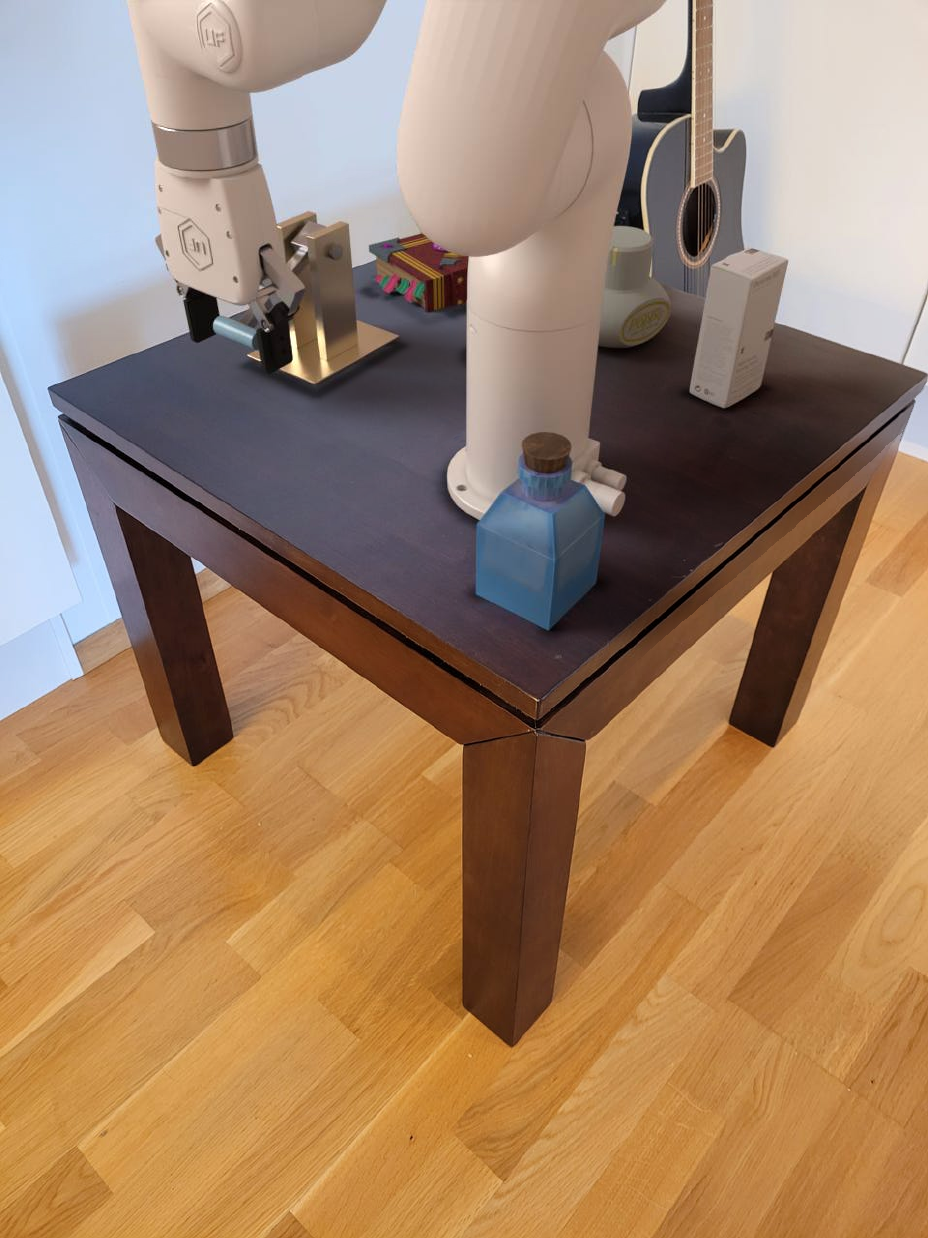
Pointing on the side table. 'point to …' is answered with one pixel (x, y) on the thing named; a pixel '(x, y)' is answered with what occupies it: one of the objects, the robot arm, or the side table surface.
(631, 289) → the air freshener
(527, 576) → the perfume bottle
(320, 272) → the bracket
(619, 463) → the side table surface
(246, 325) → the tap lever
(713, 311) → the cosmetic box
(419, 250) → the decorative book
